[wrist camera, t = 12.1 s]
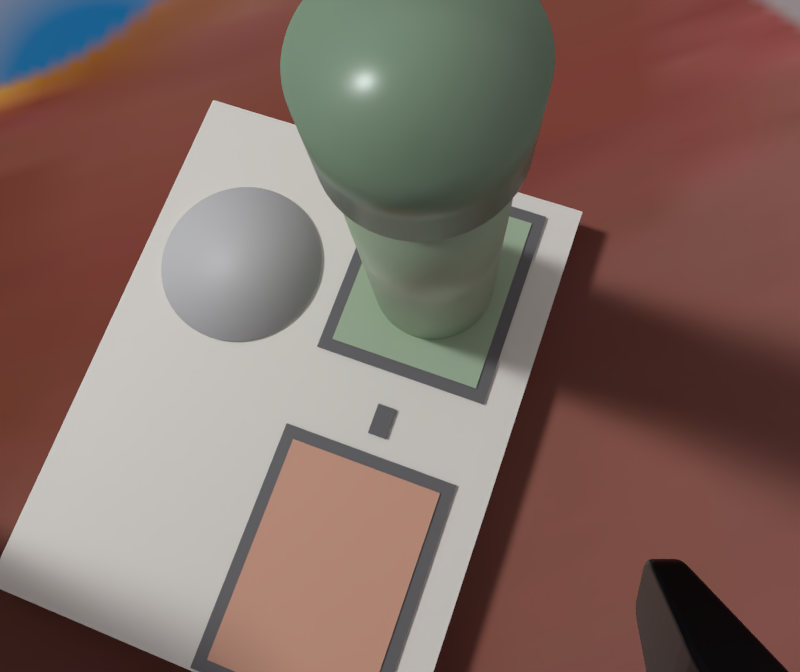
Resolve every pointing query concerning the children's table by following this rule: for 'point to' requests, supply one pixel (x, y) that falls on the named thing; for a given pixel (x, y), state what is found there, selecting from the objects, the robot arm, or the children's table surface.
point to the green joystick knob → (421, 138)
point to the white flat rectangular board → (279, 431)
